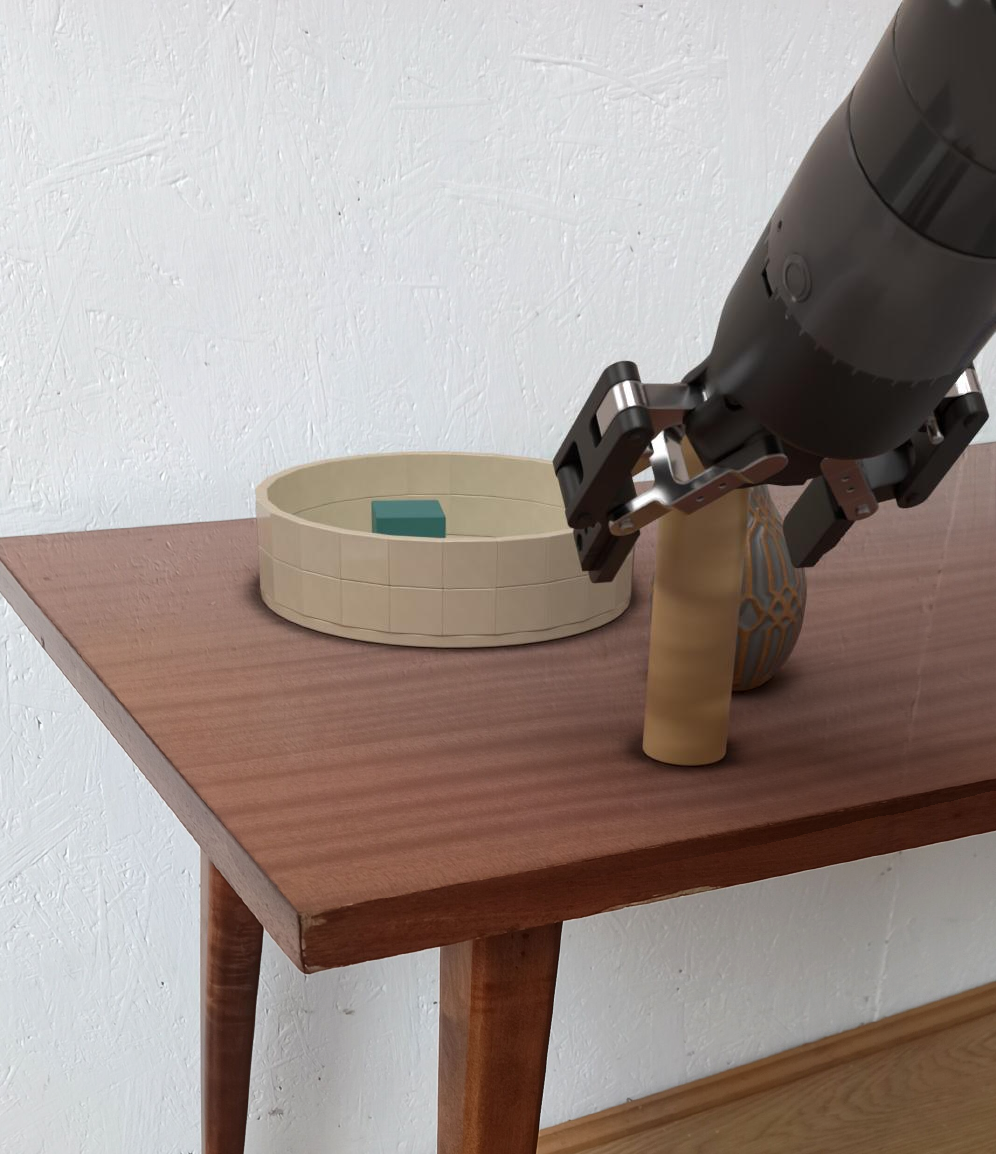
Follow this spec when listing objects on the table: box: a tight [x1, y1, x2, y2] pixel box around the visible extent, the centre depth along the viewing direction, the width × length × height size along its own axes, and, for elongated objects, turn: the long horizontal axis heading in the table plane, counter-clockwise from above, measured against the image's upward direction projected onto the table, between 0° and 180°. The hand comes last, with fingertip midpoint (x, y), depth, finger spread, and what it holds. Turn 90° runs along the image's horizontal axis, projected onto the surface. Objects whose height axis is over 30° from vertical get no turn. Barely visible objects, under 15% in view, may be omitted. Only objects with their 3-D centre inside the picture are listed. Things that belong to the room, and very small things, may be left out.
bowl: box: [254, 450, 639, 649], centre depth 88 cm, size 19×19×5 cm
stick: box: [642, 381, 751, 767], centre depth 67 cm, size 3×3×14 cm
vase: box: [649, 484, 808, 692], centre depth 76 cm, size 7×7×9 cm
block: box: [371, 500, 446, 538], centre depth 88 cm, size 4×4×4 cm
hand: (695, 554), depth 66 cm, fingers open, 8 cm apart
